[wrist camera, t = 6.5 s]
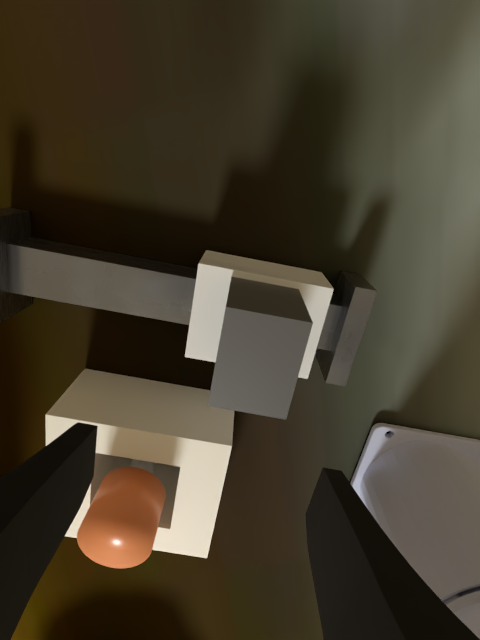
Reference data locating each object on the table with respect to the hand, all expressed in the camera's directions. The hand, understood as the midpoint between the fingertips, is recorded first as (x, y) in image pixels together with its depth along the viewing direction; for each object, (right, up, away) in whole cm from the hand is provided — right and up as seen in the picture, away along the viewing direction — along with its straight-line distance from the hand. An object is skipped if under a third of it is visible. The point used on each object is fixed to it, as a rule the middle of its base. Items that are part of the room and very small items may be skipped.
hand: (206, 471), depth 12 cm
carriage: (+2, +6, +8) cm, 10 cm away
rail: (-2, +7, +8) cm, 11 cm away
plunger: (-4, -3, +9) cm, 11 cm away
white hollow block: (-4, -3, +12) cm, 13 cm away
